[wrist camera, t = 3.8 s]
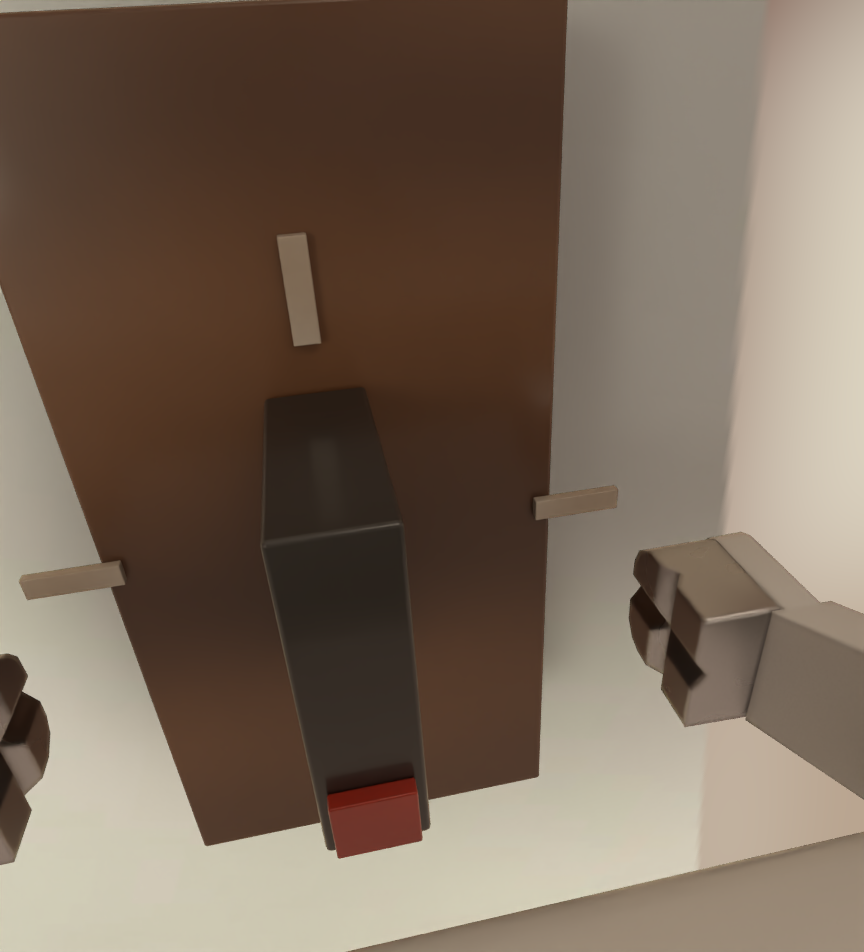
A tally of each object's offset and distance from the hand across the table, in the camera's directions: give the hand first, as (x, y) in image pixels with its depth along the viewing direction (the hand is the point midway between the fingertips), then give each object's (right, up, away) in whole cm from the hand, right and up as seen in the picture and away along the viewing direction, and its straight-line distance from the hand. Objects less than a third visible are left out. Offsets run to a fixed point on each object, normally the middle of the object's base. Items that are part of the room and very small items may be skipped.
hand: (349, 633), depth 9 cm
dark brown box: (0, +1, +2) cm, 2 cm away
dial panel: (-1, +3, +4) cm, 5 cm away
